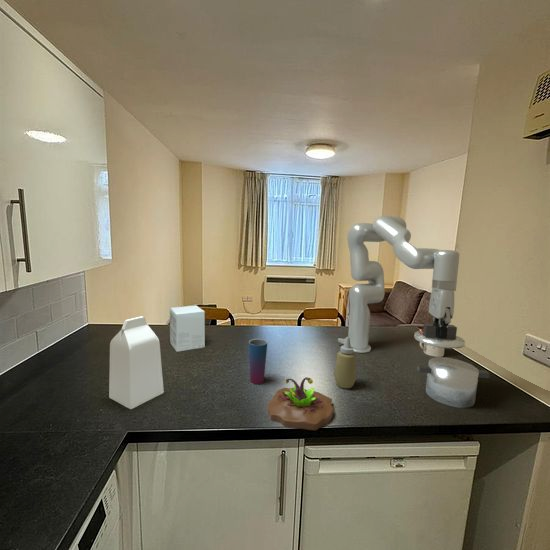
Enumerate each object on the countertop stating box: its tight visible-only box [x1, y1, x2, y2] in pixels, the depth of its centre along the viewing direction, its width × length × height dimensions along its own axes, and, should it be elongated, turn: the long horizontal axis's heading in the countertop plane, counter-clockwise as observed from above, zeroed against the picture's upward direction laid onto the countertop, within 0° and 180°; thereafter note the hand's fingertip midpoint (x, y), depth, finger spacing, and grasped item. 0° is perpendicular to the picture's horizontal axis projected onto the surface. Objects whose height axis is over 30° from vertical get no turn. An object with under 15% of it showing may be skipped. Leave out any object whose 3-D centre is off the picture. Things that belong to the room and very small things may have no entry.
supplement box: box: [169, 304, 206, 353], centre depth 146 cm, size 13×13×18 cm
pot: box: [416, 356, 490, 409], centre depth 108 cm, size 23×15×11 cm, turn 83°
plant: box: [266, 377, 335, 431], centre depth 96 cm, size 20×20×11 cm
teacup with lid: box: [419, 342, 446, 358], centre depth 146 cm, size 12×9×12 cm
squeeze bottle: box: [333, 336, 357, 389], centre depth 112 cm, size 8×8×18 cm
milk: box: [108, 315, 165, 410], centre depth 100 cm, size 12×12×26 cm
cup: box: [248, 338, 268, 385], centre depth 113 cm, size 7×7×15 cm
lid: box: [413, 322, 466, 349], centre depth 110 cm, size 16×16×6 cm
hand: (439, 335), depth 111 cm, fingers closed on lid, 3 cm apart
